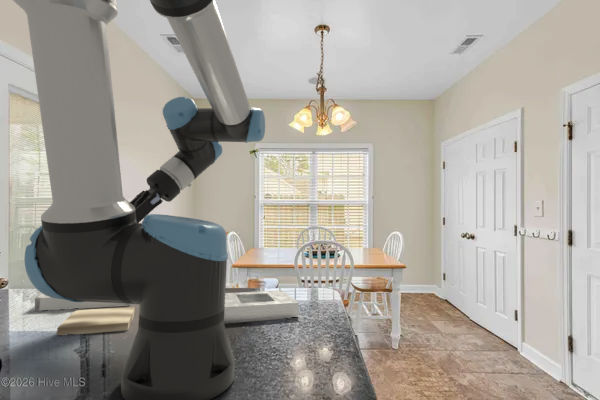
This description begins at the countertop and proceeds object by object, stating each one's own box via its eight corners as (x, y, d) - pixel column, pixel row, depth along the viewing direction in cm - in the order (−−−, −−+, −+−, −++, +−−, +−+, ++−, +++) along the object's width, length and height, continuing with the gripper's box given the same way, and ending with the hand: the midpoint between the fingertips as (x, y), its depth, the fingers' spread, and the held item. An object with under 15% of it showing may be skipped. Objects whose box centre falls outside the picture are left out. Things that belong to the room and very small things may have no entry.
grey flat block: (298, 317, 79) (298, 302, 79) (219, 323, 73) (220, 307, 73) (282, 303, 91) (282, 290, 91) (214, 307, 85) (214, 293, 85)
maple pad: (127, 330, 68) (128, 322, 68) (56, 335, 64) (57, 327, 64) (135, 313, 79) (135, 306, 79) (75, 317, 75) (76, 310, 75)
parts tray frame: (130, 305, 85) (130, 293, 85) (34, 311, 78) (35, 298, 78) (136, 293, 98) (137, 282, 98) (55, 296, 91) (56, 285, 91)
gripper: (195, 190, 76) (109, 270, 65) (167, 192, 90) (93, 258, 79) (172, 164, 72) (78, 244, 61) (147, 171, 87) (67, 236, 76)
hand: (87, 252), depth 70 cm, fingers closed on syrup box, 6 cm apart
